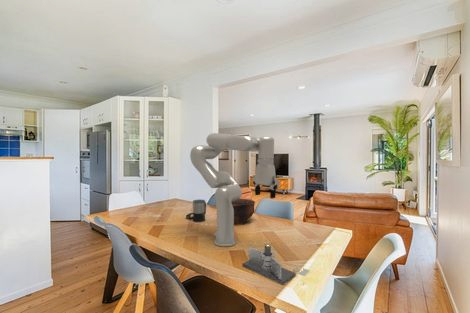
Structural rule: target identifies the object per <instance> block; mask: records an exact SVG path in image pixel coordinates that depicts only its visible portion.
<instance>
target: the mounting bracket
mask: <svg viewBox="0 0 470 313" xmlns="http://www.w3.org/2000/svg"><path fill="white" fill-rule="evenodd" d="M299 268H303V271H301V272H299V273H297V271H300V269H299ZM294 271H295V274H297V275H300V276H303V277H304V276H307V274H309V272H310V269H307V268H304V267H301V266H300V267H293V272H294Z"/></svg>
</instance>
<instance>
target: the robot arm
mask: <svg viewBox="0 0 470 313" xmlns="http://www.w3.org/2000/svg"><path fill="white" fill-rule="evenodd" d="M274 139H275V138H273V137H272V136H261V137H256V136H251V135H250V136H248V135H236V134H235V135H234V134H230V133H219V132H218V133H216V132H212V133H209V134H208V135H207V137H206V144H207V145H205V144H203V145H195V146H193V147H192V148H191V150H190V153H189V156H190V157H189V158H190V161H191V164H192V165H193V166H194V168H195V169H196V170H197V171H198V172H199V174H200V175H201V177H202V178H203V180H204V181H205V182H206V183H207V185H208V186H209V187H210V188H212V189H216V190H215V192H214V200H215V204H216V205H215V206H216V231H215V232H214V233H213V236H214V237H215V239H214V240H213V243H214V245H216V246H217V247H223V248H224V247H231V246H234V245H236V244H237V243H238V240H237V238H236V237H235V227H234V226H235V223H234V209H233V206H232V203H231V202H232V201H235V200H238V199H241V197H242V194H243V192H242V188H241V187H240V185H239V184H238V182H237V181H236V180H235V179H234V178H233V176H232V175H231V174H230V173H229V172H228V171H224V170H220V171H219V170H216V169H215V167H214V166H213V164H211V163H210V161H208V160H214V159H216V158H217V157H218V156H219V155H220V154H221V153H223V151H224V150H228V151H238V152H239V151H241V152H258V158H257V159H256V162H257V164H256V167H255V174H254V176H253V177H251V181H252V184H253V186H254V189H255V190H254V191H255V192H254V195H255V196H260V195H261V186H266V187H267V186H269V187H270V189H271V190H270V191H269V192H270V194H269V196H270V199H275V198H276V196H277V195H276V192H277V189H278V188H280V185H281V180H279V179H278V178H277V176H276V167H275V165H274V164H275V163H274V155H275V153H274V152H275V140H274Z"/></svg>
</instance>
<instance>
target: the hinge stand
mask: <svg viewBox="0 0 470 313" xmlns="http://www.w3.org/2000/svg"><path fill="white" fill-rule="evenodd" d="M271 257H273V258H274V259H275V252H273V251H271V256H265V250H260V249H257V248H254V247H251V246H249V247H248V260H247V261H246V260H245V261H244V262H243V263H241V264H242V265H241V266H242V267H244V268H245V269H248V270H250V271H252V272H254V273H256V274H258V275H261V276H263V277H265V278H268V279H269V280H272V281H273V282H276V283H278V284H281V285H285V284H286V283H288V282H289V281H291V280H292V279H293V278H294V277H296V272H294V271H291V270H289V269H287V268H284V267H282V266H281V280H280V279H278V278H277V277H276V276H275V275H274V274H273V273H272V272H271V266H264V265H262V264H261V259H262V260H264V261H271ZM275 260H276V259H275Z"/></svg>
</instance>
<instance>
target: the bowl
mask: <svg viewBox="0 0 470 313" xmlns="http://www.w3.org/2000/svg"><path fill="white" fill-rule="evenodd" d="M231 203H232V206H233V209H234V225H235V224H237V225H238V224H245V223H247V221H249V219H250V218H251V217H252V216H253V214H254V213H255V204H256V201H254V200H252V199H248V198H239V199H238V200H235V201H232V202H231Z"/></svg>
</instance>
